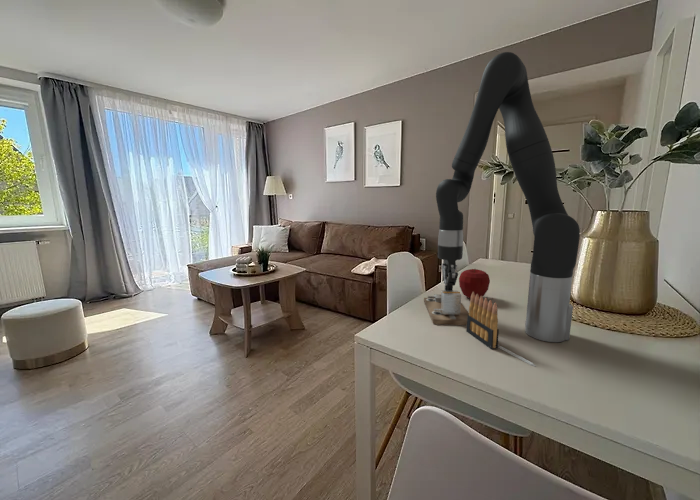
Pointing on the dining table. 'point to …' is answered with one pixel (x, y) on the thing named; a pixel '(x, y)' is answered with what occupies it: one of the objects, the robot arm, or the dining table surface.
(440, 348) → the dining table surface
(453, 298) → the grey latch block
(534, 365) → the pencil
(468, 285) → the apple
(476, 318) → the ammunition clip
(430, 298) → the sliding latch plate
